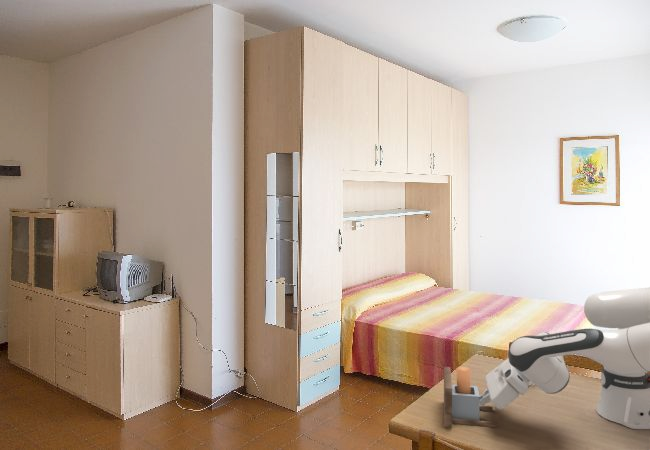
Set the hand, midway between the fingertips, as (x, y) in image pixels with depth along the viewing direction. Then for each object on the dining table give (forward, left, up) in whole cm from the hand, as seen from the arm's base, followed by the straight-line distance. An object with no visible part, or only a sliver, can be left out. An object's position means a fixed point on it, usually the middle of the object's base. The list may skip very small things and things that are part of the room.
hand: (480, 402), depth 154 cm
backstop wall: (+3, 0, -5) cm, 6 cm away
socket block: (+5, 0, -5) cm, 7 cm away
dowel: (+4, 0, -4) cm, 6 cm away
